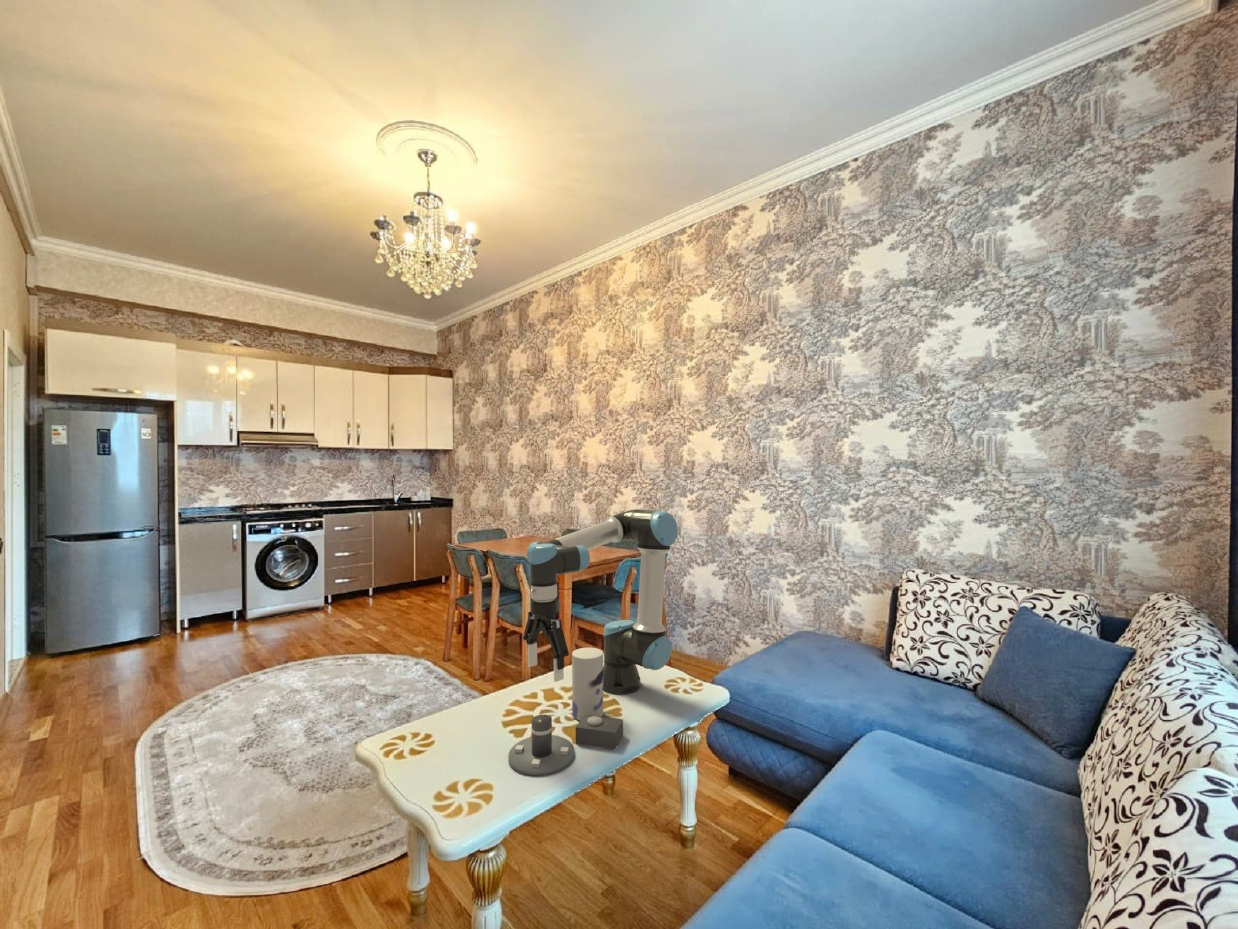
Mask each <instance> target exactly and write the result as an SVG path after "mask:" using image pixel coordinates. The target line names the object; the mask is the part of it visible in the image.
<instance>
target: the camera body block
mask: <svg viewBox="0 0 1238 929" xmlns="http://www.w3.org/2000/svg"><path fill="white" fill-rule="evenodd" d="M623 721H624V719H621V718H615V717H607V716H602V717H601V716H594V715H587V714H585V715H584V716H583V718H582V719H581V720H579V722H578V723H577V724H576V726H575V744H577V745H582V746H589V747H596V748H602V749H609V750H614V749H617V748H618V746H619V744H620V742H621V740H622V738H623V735H624V728H623V727H624V722H623ZM616 747H617V748H616Z"/></svg>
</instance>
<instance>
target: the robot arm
mask: <svg viewBox="0 0 1238 929" xmlns="http://www.w3.org/2000/svg"><path fill="white" fill-rule="evenodd" d="M678 534H679V527H678V523H677V520H676V519H675V518H674V516H673V514H671V513H669V512H668V511H664V510H663V511H662V510H651V509H649V510H648V509H638V508H637V509H636V508H635V509H630V510H626V511H623V512H620V513H617V514H615V515H612V516H608V517H607V518H606V519H605V520H604V521H602V522H600V523H597V524H594V525H591V526H589V527H586V528H585V527H584V528H582V529H579V530H577V531H573V532H571V533H567V534H565V535H562V536H558V537H557V538H553V539H551V540H550V539H549V540H548V541H545V542H543V541H534V542H532V543H531V544H529V546H528V547H527V549H526V559H527V561H528V562H529V577H530V578H529V579H530V590H529V591H530V599H531V601H530V611H528V612H527V613H528V615H527V621H526V626H525V628H524V632H523V636H522V640H523V641H525V643H526V645H527V665H528V668H531V667H535V666H538V643H537V639H538V637H539V635H540V633H543V634H544V635H545V637H547V640H548V642H549V644H550V646H551V649H552V651H553V653H554V657H553V682H560V681H562V680H564V679H565V678H564V677H565V676H564V668H565V657H568V656H570V652H569V649H568V646H567V641H566V637H565V635H564V634H565V633H564V631H563V626H562V624H563V623H562V620H561V619H556V618H555V614H556V613H557V612H558V599H557V597H558V576H560V575H561V576H562V575H564V574H570V573H575V572H579V571H582V570H583V571H584V570H585V569H587V568H588V567H589V565H590V562H591V558H590V556H591V555H590V552H589V551H591V550H594V549H596V548H599V547H601V546H604V545H607V544H609V543H611V542H612V543H619V542H621V541H622V542H623V541H633V542H637V544H636V545H637V547H636V548H637V549H638V551H639V552H640V565H639V566H640V568H639V582H638V583H639V585H638V600H637V602H638V603H637V604H638V606H637V607H638V608H637V618H636V619H637V620H636V622H635V621H634V620H630V619H619V620H614V621H609V622H608V623H606V624H605V625H604V626H603V627H604V628H603V635H602V636H603V692H605V693H609V694H616V695H625V694H630V693H631V694H632V693H633V692H636V691H637V690H639V689H640V688H641V677H640V675H639V674H640V672H639V671H638V668H637V667H639V666H640V667H642V668H644V669H647V670H648V669H649V670H652V671H658V670H661V669H662V668H664V667H665V665H666V664H667V662H669V660H670V657H671V654H672V651H673V643H672V640H671V639H670V638H669V637H668V636H666V634H667V633H666V631H667V630H666V626H664V624H663V623H662V622H663V608H664V607H663V604H664V584H665V568H666V555H667V553H668V552H670V550H671V546H672V545H674V544H675V543H676V540H677V539H678Z"/></svg>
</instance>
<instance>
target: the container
mask: <svg viewBox="0 0 1238 929" xmlns="http://www.w3.org/2000/svg"><path fill="white" fill-rule="evenodd" d="M571 660H572V661H571V662H572V663H571V676H572V677H571V678H572V679H571V681H572V684H571V687H572V688H571V689H572V693H571V694H572V697H571V699H572V705H571V706H572V708H571V711H572V712H571V713H572V717H573V718H574V719H575V720H577V721H580V720H581V719H582V718H583V716H584V715H585V714H587V715H594V716H601V717H604V716H603V715H604V691H603V666H604V650H602V649H599V648H596V647H581V648H576V649H575V650H573V651H572V653H571Z"/></svg>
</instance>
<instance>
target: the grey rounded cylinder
mask: <svg viewBox="0 0 1238 929" xmlns="http://www.w3.org/2000/svg"><path fill="white" fill-rule="evenodd" d="M552 724H553V720H552V716H551V715H548V714H538V715H534V716H533V717H532V719H531V727H530V730H531V731H530V732H531V737H532V755H533V756H535V757H538V758H542V757H547V756H549V755H550V754H551V753H552V735H553V733H552V732H553V725H552Z"/></svg>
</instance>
